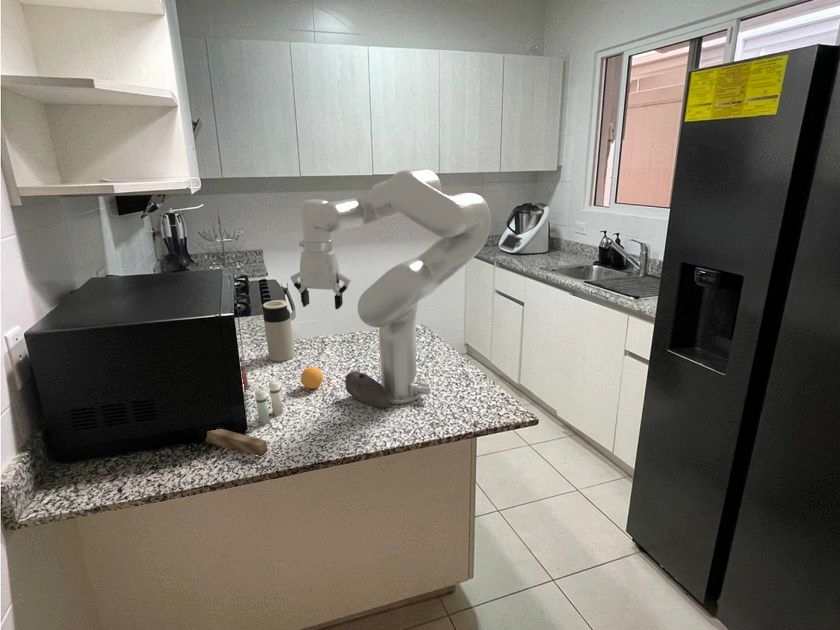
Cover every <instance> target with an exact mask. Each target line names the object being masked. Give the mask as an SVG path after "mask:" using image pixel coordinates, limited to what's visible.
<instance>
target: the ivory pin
mask: <svg viewBox="0 0 840 630" xmlns="http://www.w3.org/2000/svg"><path fill="white" fill-rule="evenodd" d="M268 385H269V387H268V388H269V393H270V399H271V409H272V415H273V414H274V415H273V416H275V415H278V416H281V415H282V414H283V413H284V411H283V403H282V395H281V387H280V381H278V380H271V381H269V383H268ZM280 414H281V415H280Z"/></svg>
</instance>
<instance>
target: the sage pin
mask: <svg viewBox="0 0 840 630" xmlns="http://www.w3.org/2000/svg"><path fill="white" fill-rule="evenodd" d="M254 394H255V402H256V408H257V415H258V422H259V425H260V426H261V425H265V426H267V425H266V424H268V425H269V424H270V422H271V419H270V414H269V406H268V398H267V392H266V390H265V389H257V390H256V391H255V392H254Z"/></svg>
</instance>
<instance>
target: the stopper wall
mask: <svg viewBox="0 0 840 630" xmlns="http://www.w3.org/2000/svg"><path fill="white" fill-rule="evenodd" d="M205 441H206V442H205ZM205 441H204V442H205V443H210V444H213V445H217V446H220V447H223V448H226V449H230V450H233V449H234V451H237V452H240V451H241V452H240V453H244V452H245V453H244V454H247V453H250V454H249V455H251V454H254V455H258V456H262V455H264V454H265V453H266V452H267V451H268V444H267V440H264V439H260V438H257V437H253V436H249V435H245V434H242V433H237V432H234V431H231V430H228V429H223V428H220V429H216V430H211V431H207V437H206V439H205ZM268 452H269V451H268ZM254 455H253V456H254ZM264 456H265V455H264Z"/></svg>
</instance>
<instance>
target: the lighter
mask: <svg viewBox="0 0 840 630" xmlns="http://www.w3.org/2000/svg"><path fill="white" fill-rule="evenodd" d="M240 362H241V371H242V379H243V384H244V390H245V392H247V391H246V390H248V389H249V390H250V385H249V384H248V375H247V371H246V370H247V369H246V368H247V365H246V363H244V362H243V357H242V356H240ZM249 390H248V391H249Z"/></svg>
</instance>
